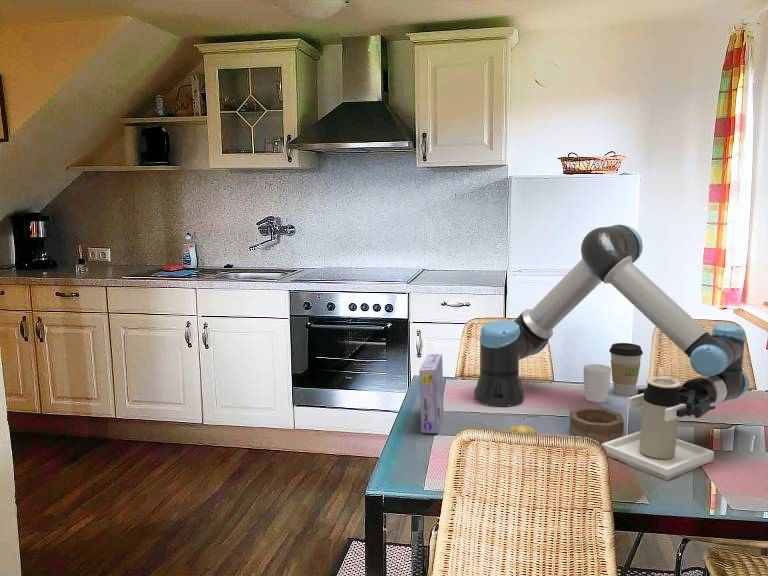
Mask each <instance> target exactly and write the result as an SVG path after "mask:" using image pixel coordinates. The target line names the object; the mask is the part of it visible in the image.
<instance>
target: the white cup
mask: <svg viewBox="0 0 768 576" xmlns="http://www.w3.org/2000/svg"><path fill="white" fill-rule="evenodd" d="M611 374H612V369H611V366H610V365H609V366H608V365H605V364H601V363H588V364H584V365H583V394H584V395H583V397H584V399H585V401H587V402H590V403H591V402H592V403H605V402H608V400H609V399H608V398H609V392H610V391H609V390H610V383H611Z"/></svg>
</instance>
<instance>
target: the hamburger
mask: <svg viewBox="0 0 768 576" xmlns="http://www.w3.org/2000/svg"><path fill="white" fill-rule="evenodd" d="M520 419H521V420H520V421H521V423H520V425H519V424H517V425H514V426H511V427H509V428H507V429H506V431H509V432H517V433H527V434H538V432H537V431H536V430H535V429H534V428H532V427H531V426H527V425H522V423H523V422H524V421H527V420H528V418H526V417H525V416H522V415H521V416H520Z"/></svg>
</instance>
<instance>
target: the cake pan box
mask: <svg viewBox="0 0 768 576" xmlns="http://www.w3.org/2000/svg"><path fill="white" fill-rule="evenodd" d="M443 371H444V370H443V354H442V353H433V354H427V355H426V357H425V359H424V361H423V362H422V364H421V366H420V369H419V371H418V373H419V374H418V376H419V378H418V379H419V380H418V381H419V403H420V426H421V429H420V430H421V433H422V434H431V435H438V432H439V429H440V427H441V424H442V420H443V415H444V411H445V410H444V380H443V377H444V376H443V375H444V374H443Z"/></svg>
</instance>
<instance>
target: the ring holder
mask: <svg viewBox="0 0 768 576" xmlns="http://www.w3.org/2000/svg"><path fill="white" fill-rule="evenodd" d="M624 427H625V420H624V418H623V415H622V414H621V413H619V412H616V411H612V410H610V409H607V408H603V407H602V408H599V407H580V408H577V409H574V410H571V411H569V434H570V436H571V435H573V436H581V437H588V438H591V439H593V440H596V441H598V442H599V443H605V442H608V441H611V440H614V439H617V438H620V437H623V436H624V432H625V431H624V429H625V428H624Z"/></svg>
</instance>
